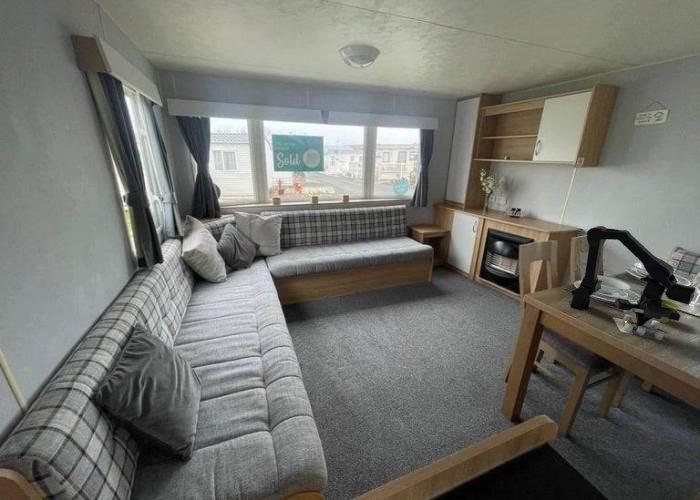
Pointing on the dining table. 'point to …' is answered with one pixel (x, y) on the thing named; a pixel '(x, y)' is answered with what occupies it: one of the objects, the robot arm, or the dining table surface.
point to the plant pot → (670, 305)
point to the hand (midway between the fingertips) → (638, 326)
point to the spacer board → (641, 328)
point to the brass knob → (630, 323)
